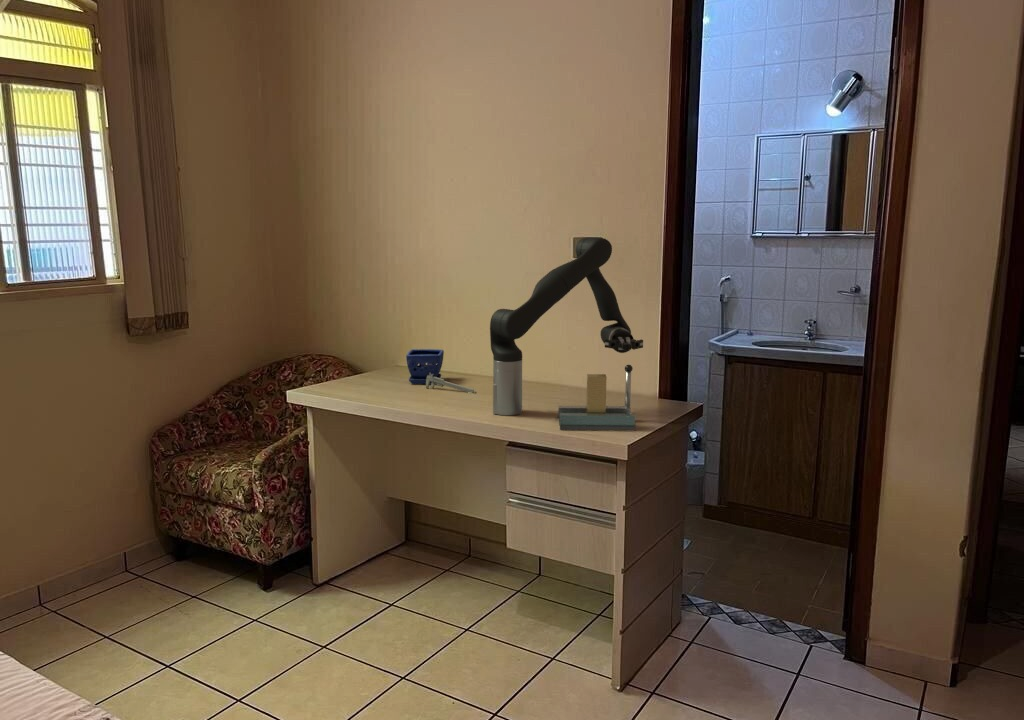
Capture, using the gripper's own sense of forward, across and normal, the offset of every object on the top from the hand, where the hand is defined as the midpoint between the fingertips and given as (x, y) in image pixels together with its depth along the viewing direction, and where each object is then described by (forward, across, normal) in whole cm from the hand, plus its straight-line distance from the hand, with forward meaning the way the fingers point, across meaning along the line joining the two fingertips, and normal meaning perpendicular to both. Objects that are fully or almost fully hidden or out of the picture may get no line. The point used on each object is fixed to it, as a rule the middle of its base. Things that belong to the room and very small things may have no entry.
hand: (627, 347), depth 246 cm
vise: (+11, -10, +22) cm, 27 cm away
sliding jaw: (+5, -10, +21) cm, 24 cm away
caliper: (-38, -59, +22) cm, 74 cm away
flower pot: (-54, -70, +22) cm, 91 cm away
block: (+11, -10, +21) cm, 26 cm away
